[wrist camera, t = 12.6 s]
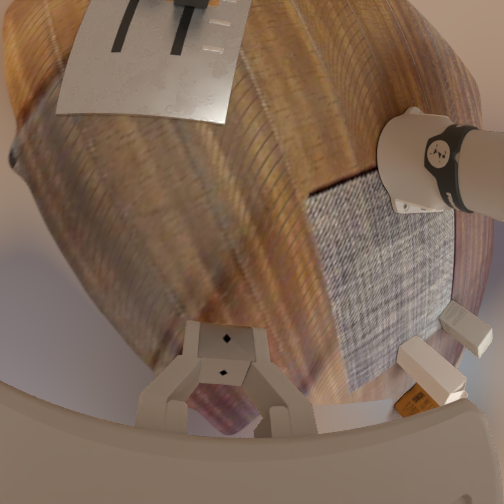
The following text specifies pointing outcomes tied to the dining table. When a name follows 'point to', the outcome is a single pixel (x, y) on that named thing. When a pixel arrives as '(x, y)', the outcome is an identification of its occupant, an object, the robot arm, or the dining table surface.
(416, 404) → the coffee package
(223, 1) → the console
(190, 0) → the fader knob
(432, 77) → the dining table surface
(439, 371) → the milk
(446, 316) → the skincare box
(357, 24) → the dining table surface
